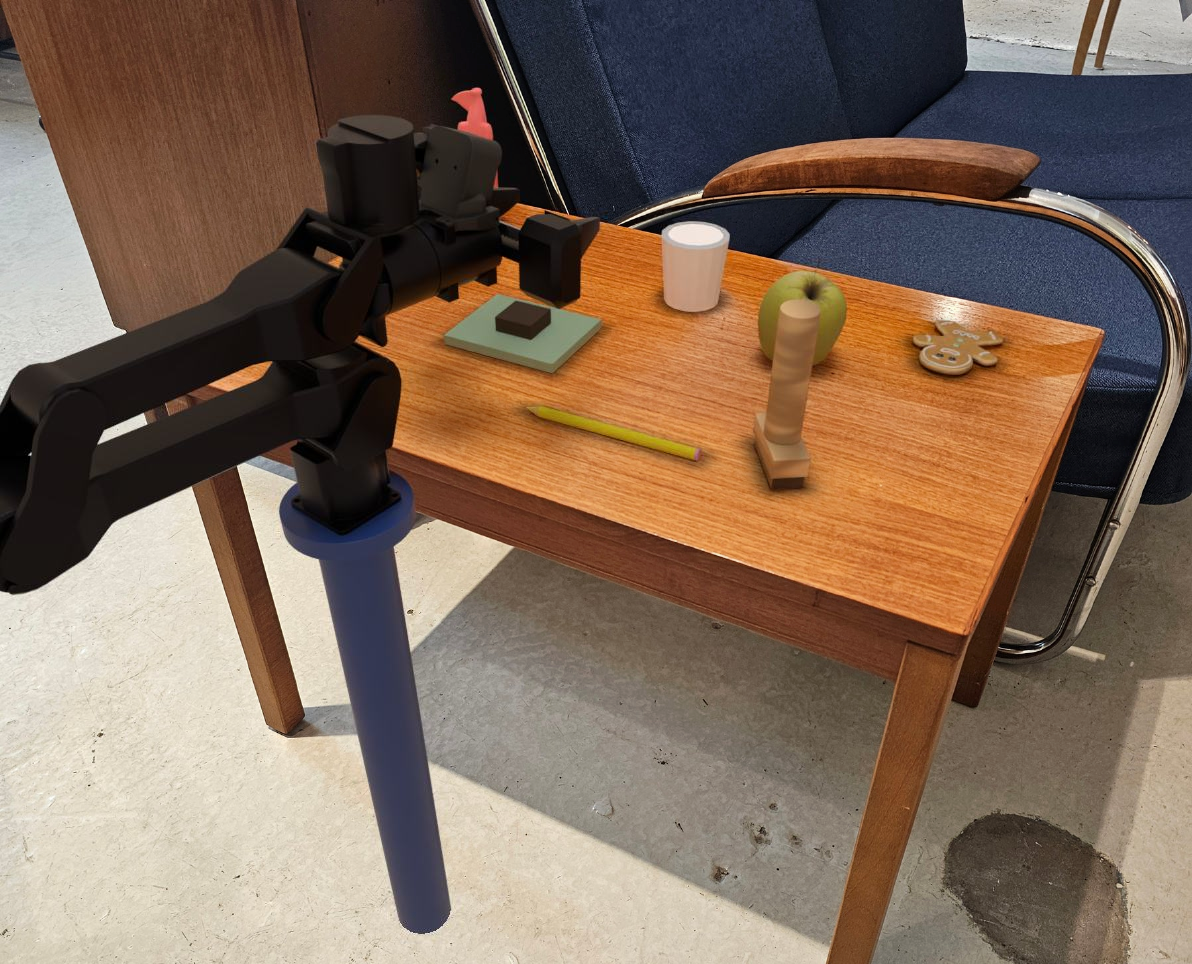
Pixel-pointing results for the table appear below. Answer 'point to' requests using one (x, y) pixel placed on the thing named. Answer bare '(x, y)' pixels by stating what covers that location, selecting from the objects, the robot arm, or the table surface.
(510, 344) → the mat
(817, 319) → the wooden rubber stamp
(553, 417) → the pencil
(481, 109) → the figurine
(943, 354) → the cookie
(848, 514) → the table surface
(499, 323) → the dark brown square block
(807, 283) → the apple
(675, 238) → the white cup
